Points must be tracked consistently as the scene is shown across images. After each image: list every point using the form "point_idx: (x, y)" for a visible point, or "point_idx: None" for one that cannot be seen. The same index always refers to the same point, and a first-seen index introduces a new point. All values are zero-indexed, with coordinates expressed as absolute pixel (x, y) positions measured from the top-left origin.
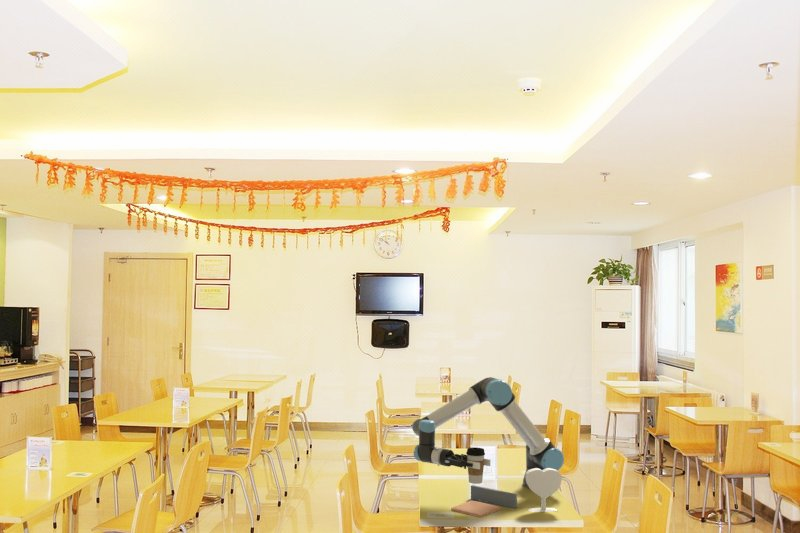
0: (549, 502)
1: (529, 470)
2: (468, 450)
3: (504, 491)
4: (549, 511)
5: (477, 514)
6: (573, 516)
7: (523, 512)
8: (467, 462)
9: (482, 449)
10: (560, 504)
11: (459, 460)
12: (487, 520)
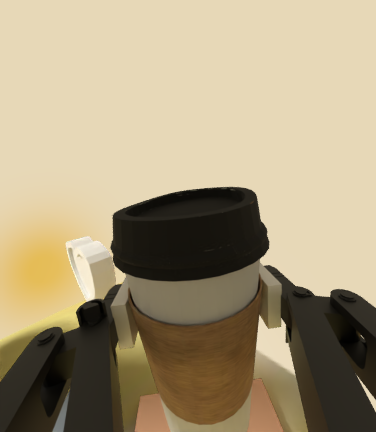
0: (25, 346)
1: (91, 253)
2: (257, 206)
3: (67, 396)
4: None
5: (268, 397)
6: (122, 282)
7: (140, 337)
8: (278, 290)
9: (185, 191)
10: (44, 323)
11: (352, 376)
12: (259, 352)
